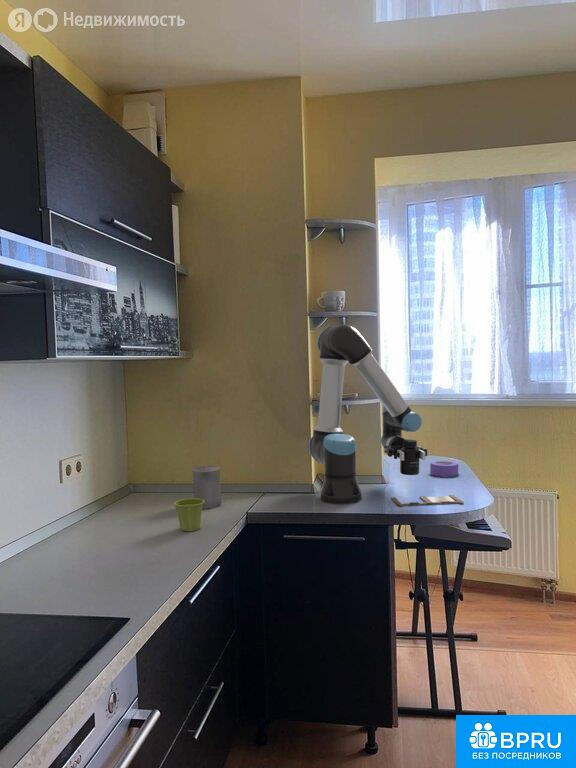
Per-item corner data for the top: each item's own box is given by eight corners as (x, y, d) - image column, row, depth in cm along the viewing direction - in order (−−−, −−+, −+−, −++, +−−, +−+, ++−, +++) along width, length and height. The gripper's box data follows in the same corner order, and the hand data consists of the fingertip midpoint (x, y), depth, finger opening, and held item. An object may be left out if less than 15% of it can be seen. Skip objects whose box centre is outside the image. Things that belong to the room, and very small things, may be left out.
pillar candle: (206, 500, 218) (204, 461, 217) (226, 503, 213) (224, 463, 212) (189, 507, 210) (186, 466, 209) (210, 510, 205) (208, 468, 204)
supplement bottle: (414, 476, 203) (414, 442, 202) (396, 474, 207) (396, 440, 206) (422, 473, 208) (422, 439, 208) (405, 470, 212) (405, 438, 212)
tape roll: (456, 471, 257) (456, 460, 257) (460, 477, 246) (460, 465, 245) (429, 471, 259) (428, 460, 259) (431, 477, 247) (431, 465, 247)
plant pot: (173, 526, 186) (171, 500, 186) (201, 523, 190) (200, 496, 189) (178, 535, 178) (176, 507, 177) (208, 530, 181) (207, 503, 180)
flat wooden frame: (398, 507, 201) (398, 504, 201) (391, 499, 212) (391, 496, 212) (463, 504, 202) (463, 501, 202) (453, 496, 213) (453, 493, 213)
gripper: (423, 455, 226) (441, 466, 203) (372, 456, 225) (385, 467, 202) (422, 436, 225) (441, 445, 202) (372, 437, 224) (385, 446, 202)
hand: (413, 456), depth 202 cm, fingers closed on supplement bottle, 7 cm apart
